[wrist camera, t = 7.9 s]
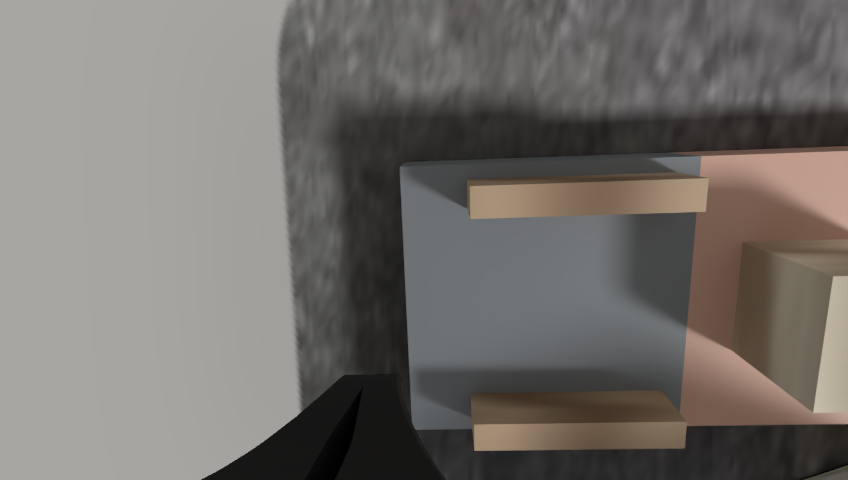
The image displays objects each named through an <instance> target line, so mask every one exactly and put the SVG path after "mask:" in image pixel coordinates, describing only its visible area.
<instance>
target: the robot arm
mask: <svg viewBox="0 0 848 480" xmlns="http://www.w3.org/2000/svg"><path fill="white" fill-rule="evenodd" d="M202 480H446V479H445V478H444V476H443V475H442V474H441V472H440V471H439V470H438V468H437V467H436V465H435V464H434V462H433V461H432V459H431V458H430V456H429V454H428V453H427V451H426V449H425V448H424V446H423V444H422V442H421V440H420V438H419V436H418V434H417V432H416V430H415V428H414V426H413V423H412V421H411V418H410V416H409V413H408V411H407V408H406V405H405V401H404V389H403V378H402V377H400V376H399V375H398V374H374V375H344V376H343V377H341V378H340V379H339V380H338V381H337V382H335V383H334V384H333V385H332V386H331V387H330V388H329V389H328V390H327V391H325V392H324V393H323V394H322V395H321V396H320V397H319V398H318V399H316V400H315V401H314V402H313V403H312V404H311V405H309V406H308V407H307V408H306V409H305V410H304V411H302V412H301V413H300V414H299V415H298V416H297V417H295V418H294V419H293V420H291V421H290V422H289V423H287V424H286V425H285V426H284V427H282V428H281V429H280V430H278V431H277V432H276V433H274V434H273V435H272V436H271V437H269V438H268V439H267V440H265V441H264V442H263V443H261V444H260V445H258V446H257V447H256V448H254V449H252V450H251V451H249V452H248V453H246V454H245V455H244V456H242V457H240V458H238V459H237V460H235V461H234V462H232V463H230V464H229V465H227V466H226V467H224V468H222V469H220V470H219V471H217V472H215V473H213V474H211V475H209V476H207V477H205V478H204V479H202Z"/></svg>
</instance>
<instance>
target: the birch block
mask: <svg viewBox="0 0 848 480" xmlns="http://www.w3.org/2000/svg"><path fill="white" fill-rule="evenodd" d="M732 351H733V352H734V353H736V354H737V355H738V356H740V357H741V358H742V359H743V360H745V361H746V362H747V363H749V364H750V365H751V366H753V367H754V368H755V369H756V370H758V371H759V372H760V373H762V374H763V375H764V376H766V377H767V378H768V379H770V380H771V381H772V382H773V383H775V384H776V385H777V386H779V387H780V388H781V389H783V390H784V391H785V392H786V393H788V394H789V395H790V396H792V397H793V398H794V399H796V400H797V401H798V402H800V403H801V404H802V405H803V406H805V407H806V408H807V409H809V410H810V411H811V412H813V413H836V412H848V239H829V240H797V241H765V242H743V246H742V255H741V265H740V275H739V284H738V294H737V303H736V313H735V323H734V332H733V342H732Z"/></svg>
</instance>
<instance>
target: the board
mask: <svg viewBox="0 0 848 480" xmlns="http://www.w3.org/2000/svg"><path fill="white" fill-rule="evenodd" d="M668 172H679V173H684V174H689V175H695V176H700V177H705V178H709V181H708V193H707V204H706V212H682V213H650V214H618V215H585V216H553V217H521V218H488V219H470V216H469V213H468V210H467V181H466V179H493V178H522V177H551V176H580V175H609V174H639V173H668ZM400 186H401V207H402V228H403V248H404V269H405V290H406V311H407V331H408V352H409V373H410V394H411V415H412V423H413V426H414V428H415V430H439V429H472V423H471V395H470V393H525V392H586V391H647V390H661V391H662V392H663V393H664V395H665V396H666V397H667V398H668V399H669V401H670V402H671V403H672V404H673V405H674V407H675V408H676V409H677V410H678V411H679V413H680V414H681V415H682V416H683V417H684V419H685V420H686V421H687V426H737V425H812V424H848V412H836V413H813V412H811V411H810V410H809V409H807V408H806V407H805V406H803V405H802V404H801V403H800V402H798V401H797V400H796V399H794V398H793V397H792V396H790V395H789V394H788V393H786V392H785V391H784V390H783V389H781V388H780V387H779V386H777V385H776V384H775V383H773V382H772V381H771V380H770V379H768V378H767V377H766V376H764V375H763V374H762V373H760V372H759V371H758V370H756V369H755V368H754V367H753V366H751V365H750V364H749V363H747V362H746V361H745V360H743V359H742V358H741V357H740V356H738V355H737V354H736V353H734V352H733V351H732V342H733V332H734V323H735V313H736V303H737V294H738V284H739V275H740V265H741V255H742V246H743V242H765V241H797V240H829V239H848V146H835V147H807V148H779V149H751V150H723V151H695V152H667V153H639V154H611V155H584V156H556V157H528V158H500V159H472V160H444V161H416V162H404V163H403V164H402V165H401V166H400Z"/></svg>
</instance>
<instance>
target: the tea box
mask: <svg viewBox="0 0 848 480" xmlns="http://www.w3.org/2000/svg"><path fill="white" fill-rule="evenodd" d="M805 480H848V466H845V467H842V468H839V469H836V470H833V471H830V472H827V473H823V474H820V475H817V476H814V477H811V478H808V479H805Z"/></svg>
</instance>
